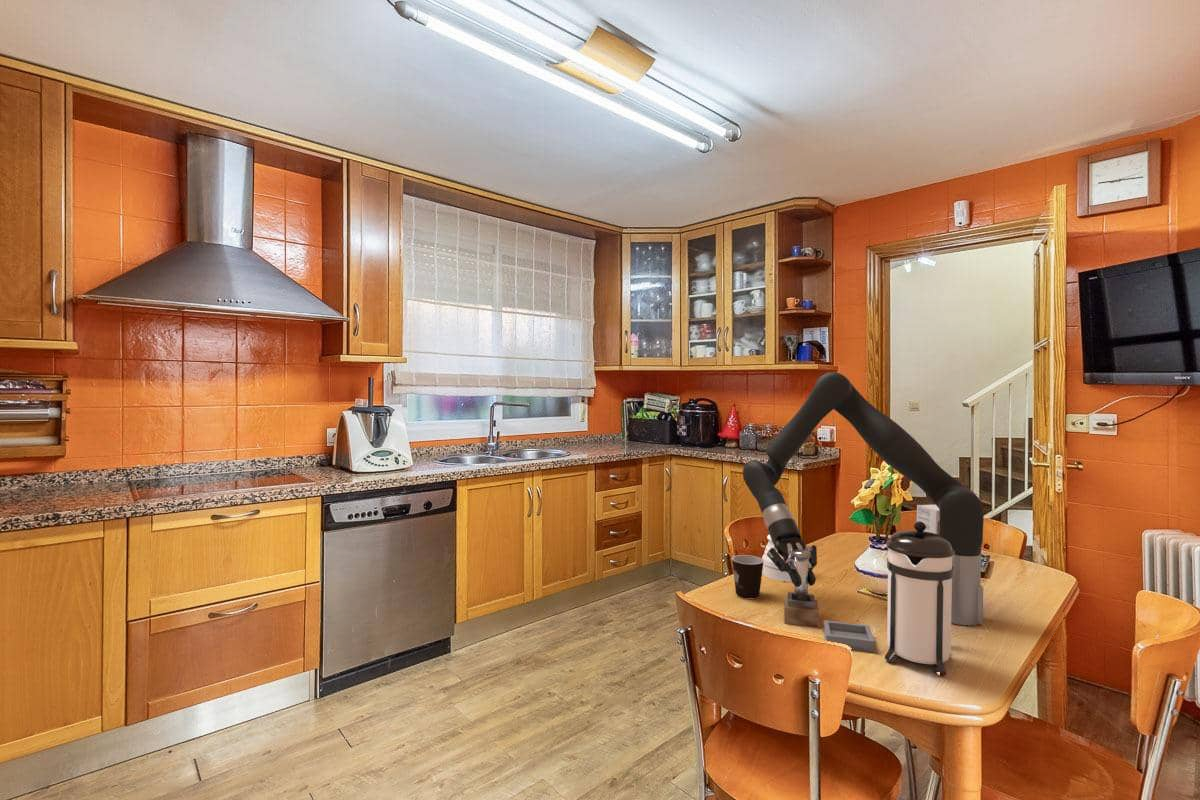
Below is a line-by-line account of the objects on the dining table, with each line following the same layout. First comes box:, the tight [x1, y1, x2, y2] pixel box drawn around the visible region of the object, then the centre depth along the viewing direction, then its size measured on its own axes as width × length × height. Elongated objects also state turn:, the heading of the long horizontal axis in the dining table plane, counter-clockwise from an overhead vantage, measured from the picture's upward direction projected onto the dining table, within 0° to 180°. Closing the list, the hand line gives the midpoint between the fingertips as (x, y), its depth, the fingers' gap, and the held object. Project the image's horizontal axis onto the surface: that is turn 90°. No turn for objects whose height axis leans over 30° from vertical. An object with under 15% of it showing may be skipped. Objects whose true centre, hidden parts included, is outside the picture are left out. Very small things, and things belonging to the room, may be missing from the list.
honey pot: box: [761, 534, 795, 583], centre depth 180 cm, size 13×13×18 cm
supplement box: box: [916, 504, 940, 535], centre depth 202 cm, size 10×9×17 cm
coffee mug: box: [731, 554, 764, 599], centre depth 165 cm, size 12×9×10 cm
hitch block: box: [783, 591, 820, 628], centre depth 147 cm, size 8×8×6 cm
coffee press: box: [884, 521, 955, 676], centre depth 126 cm, size 17×16×30 cm
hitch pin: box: [793, 549, 810, 601], centre depth 146 cm, size 4×4×13 cm
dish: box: [823, 619, 876, 653], centre depth 134 cm, size 10×9×2 cm
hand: (805, 584), depth 144 cm, fingers closed on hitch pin, 3 cm apart
